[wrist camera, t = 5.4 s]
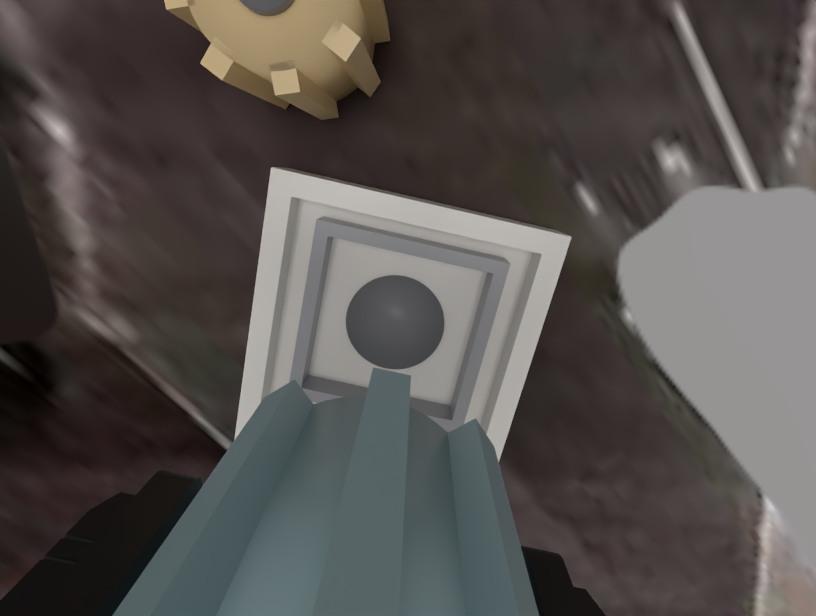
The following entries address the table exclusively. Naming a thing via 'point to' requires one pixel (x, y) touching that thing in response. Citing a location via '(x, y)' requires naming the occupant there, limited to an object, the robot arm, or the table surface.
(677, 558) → the table surface
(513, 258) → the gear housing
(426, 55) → the table surface
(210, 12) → the amber gear
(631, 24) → the table surface
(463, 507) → the teal gear
